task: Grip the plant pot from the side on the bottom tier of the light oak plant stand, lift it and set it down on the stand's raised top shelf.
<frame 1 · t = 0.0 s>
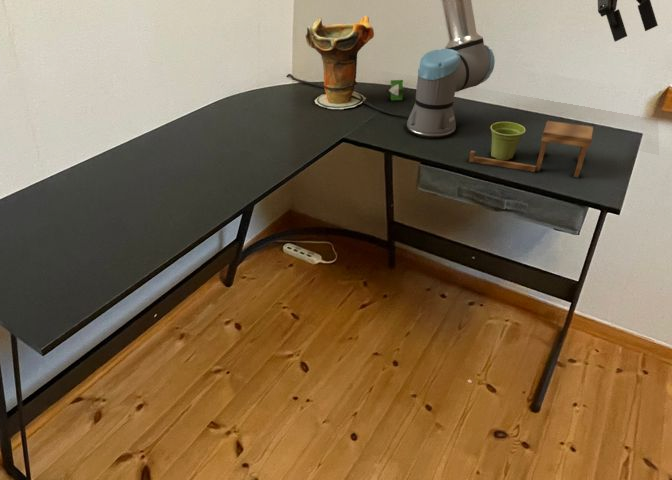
hand: (636, 33, 145), 36 cm above the table, tool tilted 35°, fingers open, 13 cm apart
plant pot: (501, 157, 176), on the table
geometric puzzle: (395, 99, 215), on the table
decorative vase: (337, 101, 215), on the table
plant stand: (527, 160, 173), on the table
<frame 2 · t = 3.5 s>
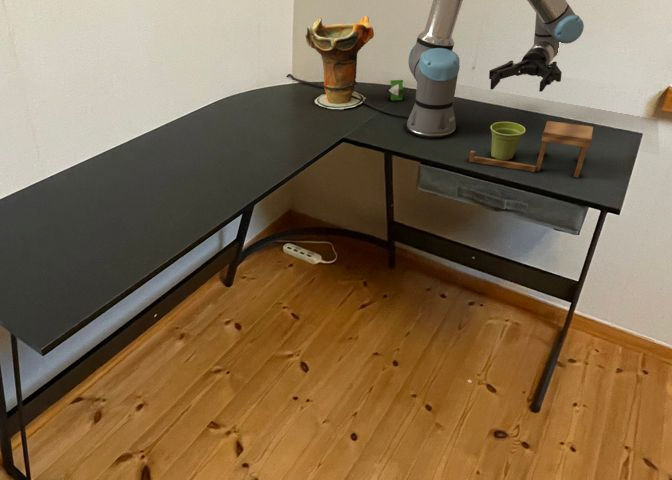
hand: (515, 85, 171), 18 cm above the table, tool horizontal, fingers open, 13 cm apart
nothing on the table moved.
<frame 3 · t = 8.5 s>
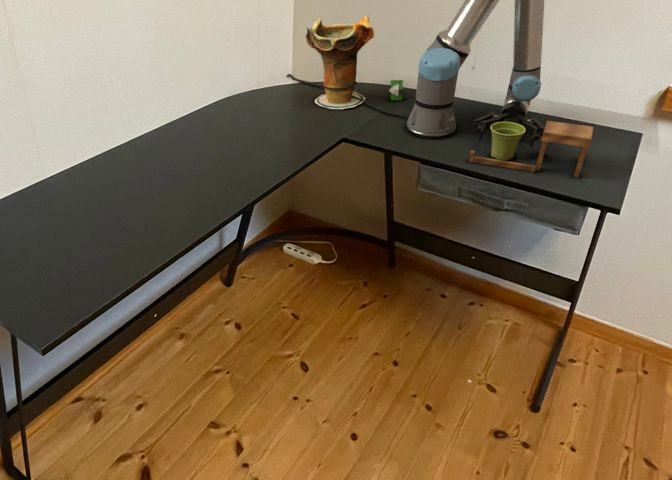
hand: (506, 139, 171), 6 cm above the table, tool horizontal, fingers open, 13 cm apart
nothing on the table moved.
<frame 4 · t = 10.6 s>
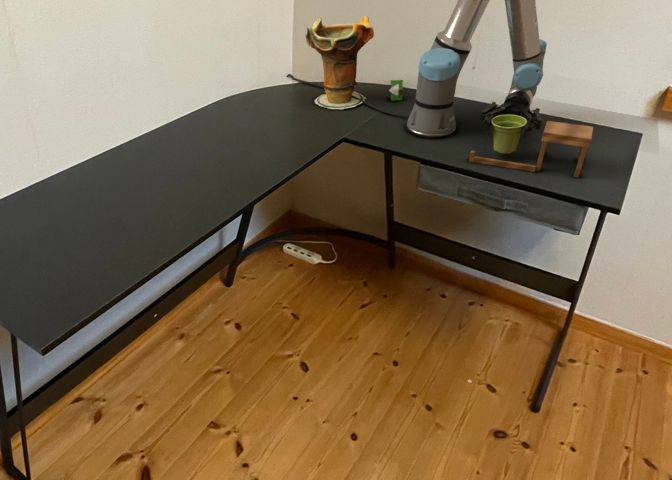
hand: (505, 130, 167), 10 cm above the table, tool horizontal, fingers closed on plant pot, 9 cm apart
plant pot: (504, 150, 174), point 2 cm above the table, touching gripper
everything else where it was.
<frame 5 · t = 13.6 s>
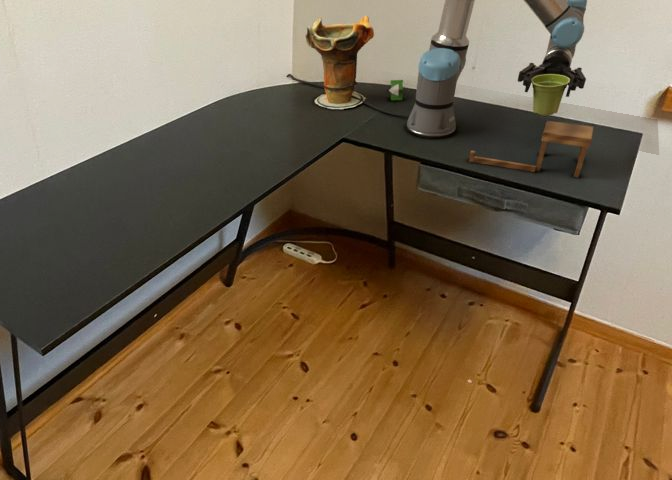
hand: (547, 89, 156), 22 cm above the table, tool horizontal, fingers closed on plant pot, 9 cm apart
plant pot: (545, 112, 163), point 14 cm above the table, touching gripper
everything else where it was.
when the fingers open (18 cm above the table, at t = 16.5 s): plant pot stays where it is, resting on plant stand.
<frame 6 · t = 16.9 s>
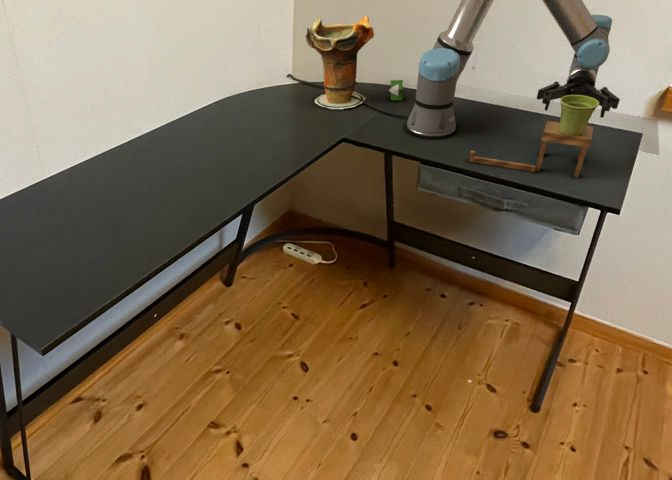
hand: (574, 109, 157), 18 cm above the table, tool horizontal, fingers open, 13 cm apart
plant pot: (570, 133, 164), point 10 cm above the table, touching plant stand
everything else where it was.
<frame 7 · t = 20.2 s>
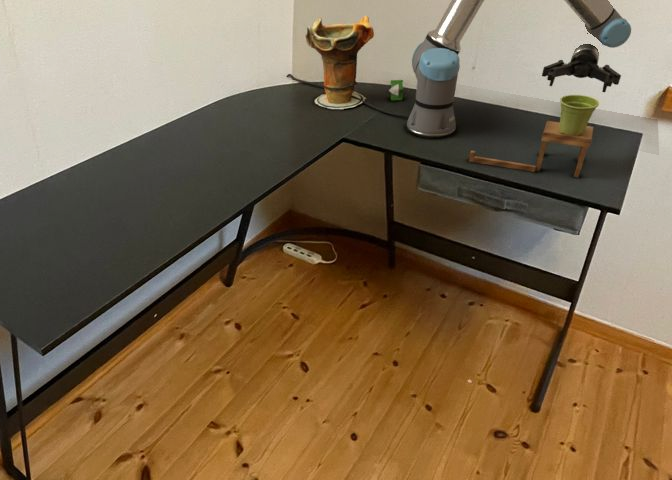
hand: (578, 84, 166), 20 cm above the table, tool horizontal, fingers open, 13 cm apart
nothing on the table moved.
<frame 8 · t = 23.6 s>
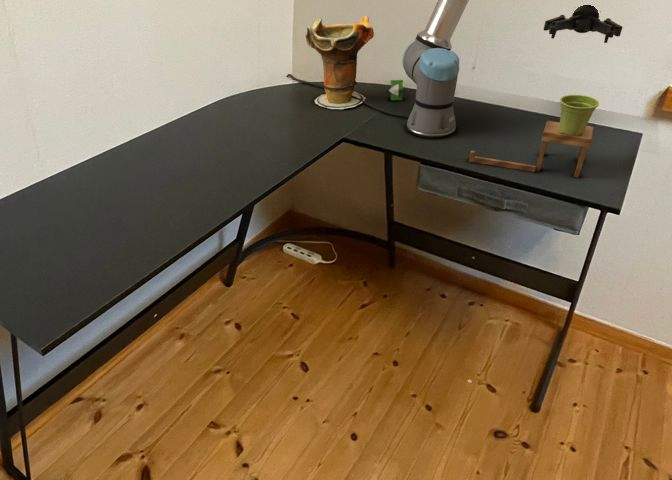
hand: (579, 35, 166), 30 cm above the table, tool horizontal, fingers open, 13 cm apart
nothing on the table moved.
at the end: plant pot inside the target area (0.8 cm from its centre), point 9.8 cm above the table; plant pot tilted 0° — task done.
